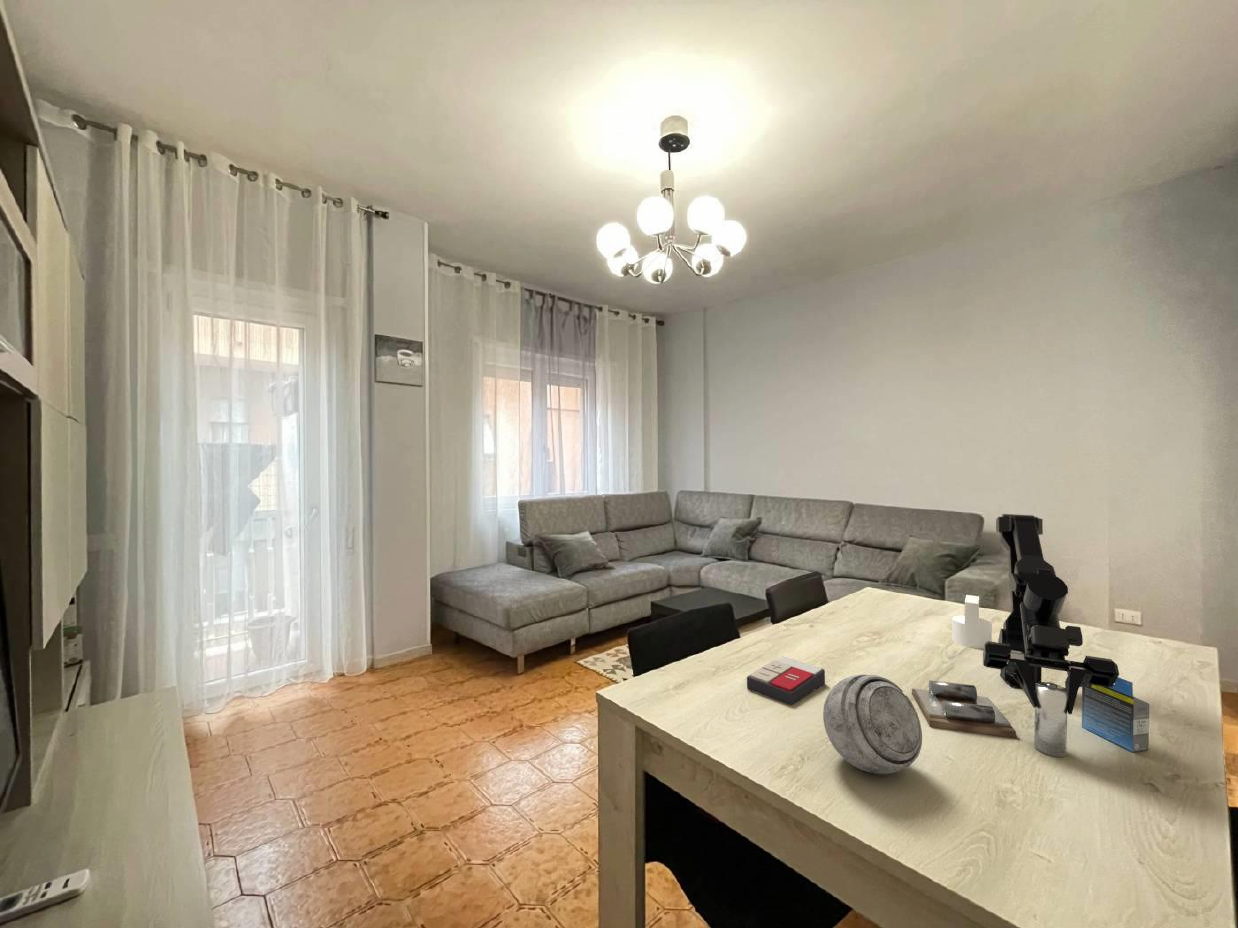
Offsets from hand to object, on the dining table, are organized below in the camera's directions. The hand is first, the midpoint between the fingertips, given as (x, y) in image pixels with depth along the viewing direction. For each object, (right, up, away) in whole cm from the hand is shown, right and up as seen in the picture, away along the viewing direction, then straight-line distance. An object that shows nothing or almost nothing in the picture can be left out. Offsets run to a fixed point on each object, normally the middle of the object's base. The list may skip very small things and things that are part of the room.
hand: (1052, 709), depth 91 cm
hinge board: (-7, -7, +14) cm, 17 cm away
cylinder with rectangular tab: (+22, -7, +53) cm, 58 cm away
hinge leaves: (-7, -6, +14) cm, 17 cm away
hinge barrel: (+1, -8, +1) cm, 8 cm away
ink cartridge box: (+16, -8, +5) cm, 18 cm away
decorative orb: (-33, -8, -3) cm, 34 cm away
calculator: (-37, -8, +27) cm, 47 cm away
